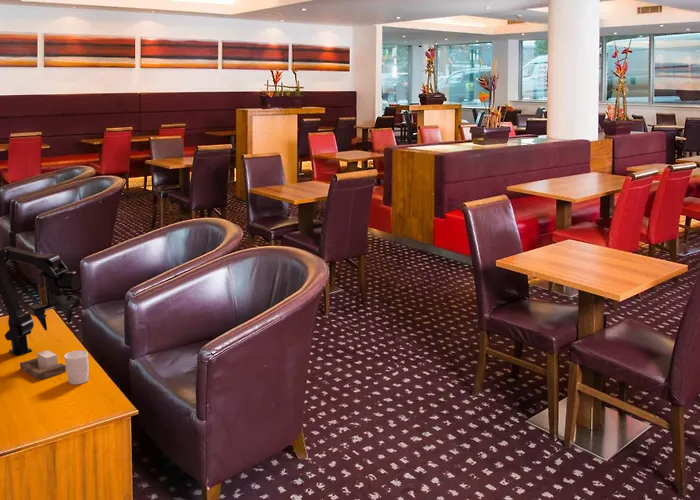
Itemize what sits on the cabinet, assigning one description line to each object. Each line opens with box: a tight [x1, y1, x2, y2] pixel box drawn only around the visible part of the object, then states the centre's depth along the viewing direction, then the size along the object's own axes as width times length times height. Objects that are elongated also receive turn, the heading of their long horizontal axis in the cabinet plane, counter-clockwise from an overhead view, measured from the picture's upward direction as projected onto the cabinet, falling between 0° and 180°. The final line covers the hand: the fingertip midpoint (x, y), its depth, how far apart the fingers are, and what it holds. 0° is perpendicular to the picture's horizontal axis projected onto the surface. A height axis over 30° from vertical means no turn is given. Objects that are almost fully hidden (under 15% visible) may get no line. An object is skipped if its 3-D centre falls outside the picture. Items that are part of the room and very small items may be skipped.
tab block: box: [36, 349, 59, 370], centre depth 268 cm, size 7×4×6 cm, turn 49°
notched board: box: [19, 357, 67, 381], centre depth 267 cm, size 14×10×2 cm
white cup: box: [63, 350, 90, 385], centre depth 258 cm, size 8×8×10 cm
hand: (57, 326), depth 278 cm, fingers open, 9 cm apart
